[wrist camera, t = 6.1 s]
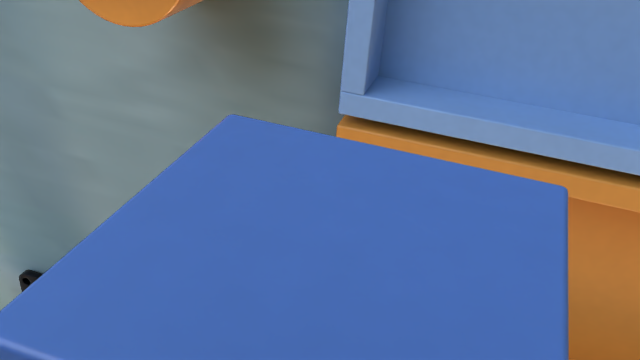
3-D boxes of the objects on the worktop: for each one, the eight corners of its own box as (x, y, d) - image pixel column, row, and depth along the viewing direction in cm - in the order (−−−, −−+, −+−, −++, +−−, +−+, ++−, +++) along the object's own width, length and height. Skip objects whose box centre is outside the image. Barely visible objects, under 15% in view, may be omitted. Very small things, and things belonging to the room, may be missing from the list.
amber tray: (720, 405, 23) (737, 462, 21) (335, 296, 27) (316, 335, 25) (850, 194, 19) (888, 241, 16) (357, 96, 22) (336, 124, 20)
